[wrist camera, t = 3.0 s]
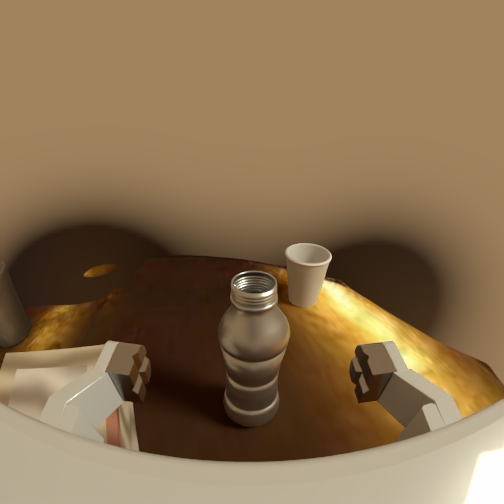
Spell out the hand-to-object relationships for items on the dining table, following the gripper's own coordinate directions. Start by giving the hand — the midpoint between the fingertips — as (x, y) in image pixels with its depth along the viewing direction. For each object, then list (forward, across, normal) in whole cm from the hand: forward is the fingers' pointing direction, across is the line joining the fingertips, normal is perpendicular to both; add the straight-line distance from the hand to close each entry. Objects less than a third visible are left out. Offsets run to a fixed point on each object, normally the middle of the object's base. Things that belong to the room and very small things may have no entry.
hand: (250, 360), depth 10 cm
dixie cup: (+37, -11, +24) cm, 46 cm away
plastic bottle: (+12, 0, +24) cm, 27 cm away
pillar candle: (+21, +47, +24) cm, 57 cm away
